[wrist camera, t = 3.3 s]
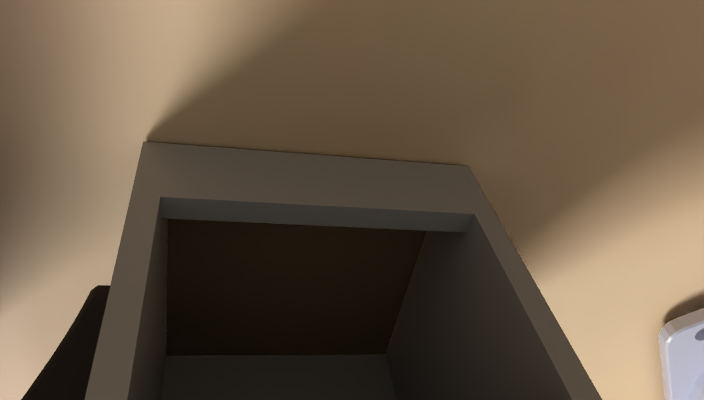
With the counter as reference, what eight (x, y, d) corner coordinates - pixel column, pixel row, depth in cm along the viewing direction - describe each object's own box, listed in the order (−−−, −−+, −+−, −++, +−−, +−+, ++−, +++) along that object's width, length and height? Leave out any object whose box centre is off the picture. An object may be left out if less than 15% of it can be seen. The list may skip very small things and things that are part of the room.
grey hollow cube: (142, 141, 10) (72, 451, 5) (467, 165, 11) (619, 428, 7) (146, 367, 13) (104, 673, 9) (397, 365, 14) (468, 627, 10)
